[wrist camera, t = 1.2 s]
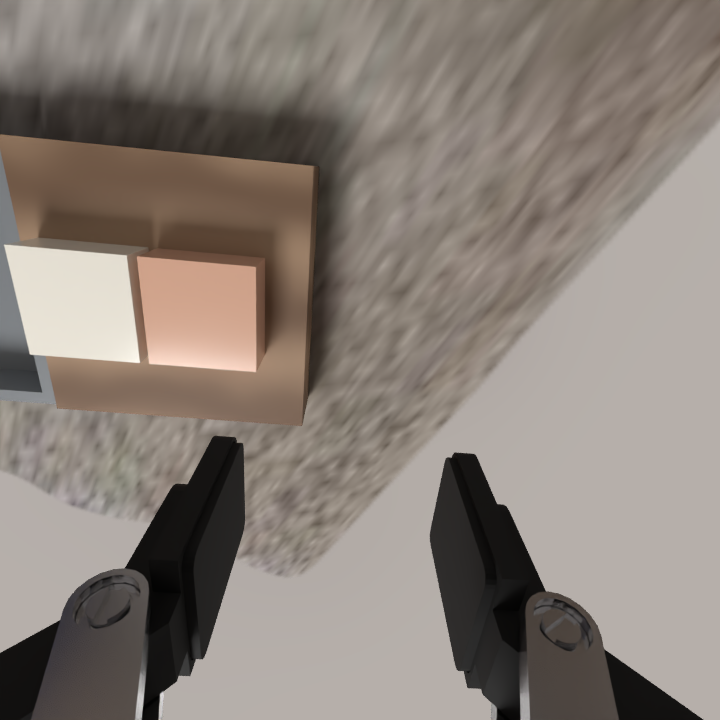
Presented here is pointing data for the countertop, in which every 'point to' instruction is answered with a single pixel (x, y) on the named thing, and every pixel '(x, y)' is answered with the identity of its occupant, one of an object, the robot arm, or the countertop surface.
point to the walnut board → (188, 233)
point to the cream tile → (79, 298)
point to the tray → (16, 324)
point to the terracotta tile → (203, 309)
